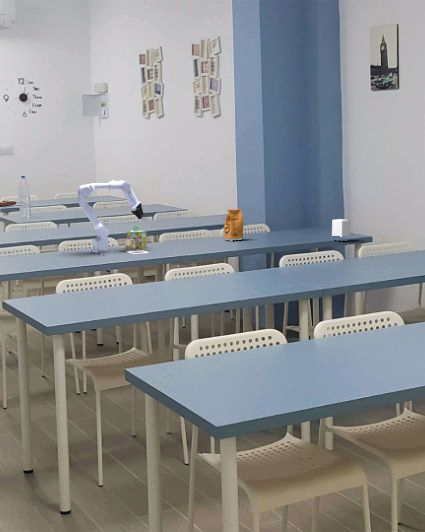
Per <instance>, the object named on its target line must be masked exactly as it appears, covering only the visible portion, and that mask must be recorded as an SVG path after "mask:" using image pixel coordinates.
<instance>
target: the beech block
mask: <svg viewBox="0 0 425 532" xmlns="http://www.w3.org/2000/svg"><path fill="white" fill-rule="evenodd" d="M125 248H126V249H127V250H133V249H135V240H134V239H125Z"/></svg>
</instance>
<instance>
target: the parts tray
mask: <svg viewBox="0 0 425 532" xmlns="http://www.w3.org/2000/svg"><path fill="white" fill-rule="evenodd" d="M142 250H143V249H141V251H129V252H126V253H128V254H130V255H142V254H149V252H148V251H146V250H144V251H142Z"/></svg>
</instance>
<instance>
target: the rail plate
mask: <svg viewBox="0 0 425 532" xmlns="http://www.w3.org/2000/svg"><path fill="white" fill-rule="evenodd" d="M141 250H142V251H145V250H144V249H142V248H139V249H137V248H135V249H133V250H127V249H126V247H124V248H121V249H120V250H117V252H118V253H127V252H129V251H141Z"/></svg>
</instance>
